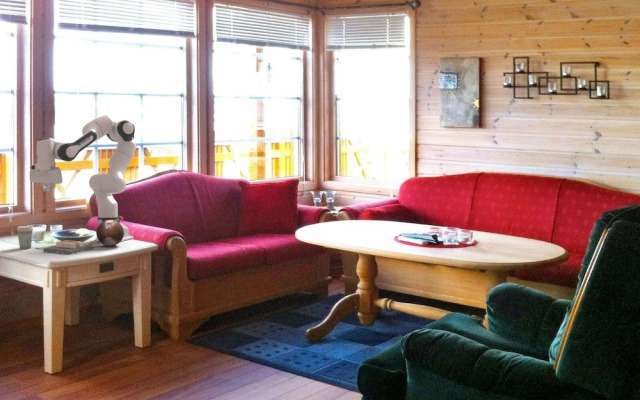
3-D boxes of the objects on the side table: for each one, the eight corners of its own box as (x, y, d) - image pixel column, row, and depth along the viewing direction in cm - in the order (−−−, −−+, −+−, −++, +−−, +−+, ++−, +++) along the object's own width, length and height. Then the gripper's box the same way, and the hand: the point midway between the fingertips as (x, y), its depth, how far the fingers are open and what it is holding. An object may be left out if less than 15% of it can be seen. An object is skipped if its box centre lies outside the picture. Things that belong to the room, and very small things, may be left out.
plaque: (66, 240, 450) (83, 241, 445) (66, 244, 450) (83, 246, 446) (56, 242, 442) (74, 244, 438) (56, 247, 443) (74, 249, 438)
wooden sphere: (98, 249, 450) (97, 222, 448) (95, 244, 464) (94, 218, 462) (126, 247, 456) (125, 221, 454) (122, 243, 469) (121, 217, 468)
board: (65, 246, 457) (65, 242, 456) (92, 249, 450) (92, 245, 450) (43, 251, 440) (43, 248, 440) (70, 254, 433) (70, 250, 433)
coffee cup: (19, 250, 444) (19, 228, 442) (15, 247, 451) (14, 226, 449) (35, 248, 449) (35, 227, 448) (31, 246, 456) (30, 225, 454)
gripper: (64, 166, 451) (65, 191, 453) (35, 165, 459) (36, 189, 461) (56, 167, 446) (57, 192, 447) (27, 166, 453) (28, 190, 455)
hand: (46, 191), depth 454 cm, fingers closed
